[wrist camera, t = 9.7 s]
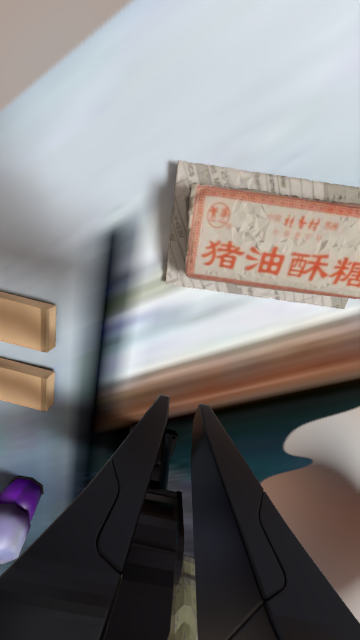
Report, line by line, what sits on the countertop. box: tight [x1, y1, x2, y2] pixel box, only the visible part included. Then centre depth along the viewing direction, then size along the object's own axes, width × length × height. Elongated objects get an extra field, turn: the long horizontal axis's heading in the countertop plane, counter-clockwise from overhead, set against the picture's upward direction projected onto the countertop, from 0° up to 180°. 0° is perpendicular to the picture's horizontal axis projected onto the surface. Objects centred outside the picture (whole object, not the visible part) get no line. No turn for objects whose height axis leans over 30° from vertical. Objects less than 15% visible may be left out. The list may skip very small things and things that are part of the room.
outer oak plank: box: [0, 292, 56, 353], centre depth 20 cm, size 5×9×1 cm, turn 76°
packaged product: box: [166, 161, 360, 309], centre depth 16 cm, size 18×5×10 cm
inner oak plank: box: [0, 358, 55, 412], centre depth 23 cm, size 5×9×1 cm, turn 76°
